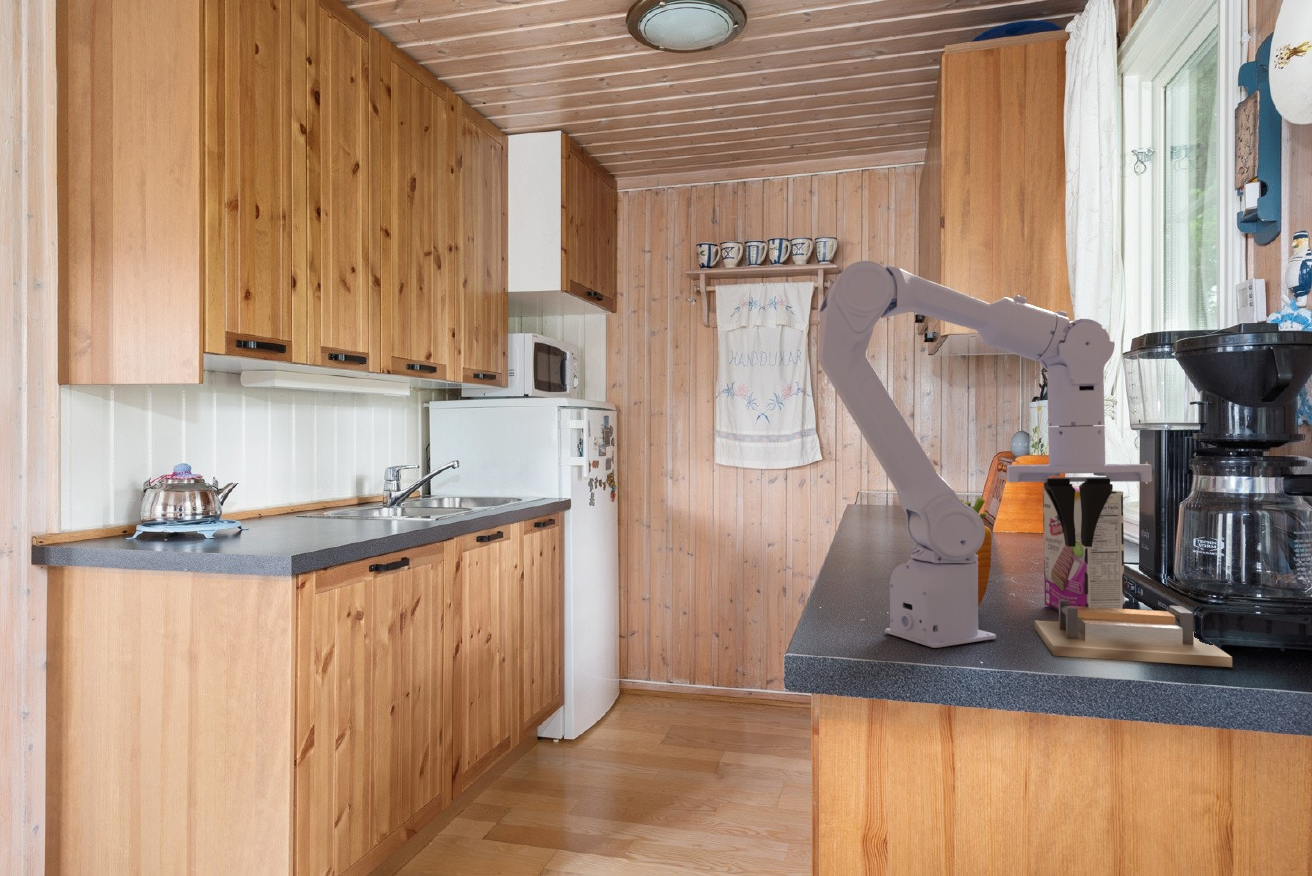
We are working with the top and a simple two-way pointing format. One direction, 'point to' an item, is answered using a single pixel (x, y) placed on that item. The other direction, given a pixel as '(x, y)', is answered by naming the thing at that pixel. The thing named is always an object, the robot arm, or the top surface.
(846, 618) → the top surface
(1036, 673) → the top surface
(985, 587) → the carrot
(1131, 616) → the copper strap
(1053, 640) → the birch board
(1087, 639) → the stone
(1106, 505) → the candy bar box
